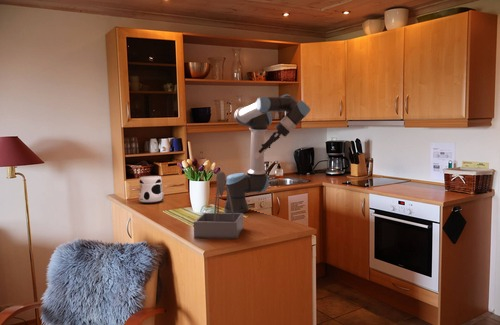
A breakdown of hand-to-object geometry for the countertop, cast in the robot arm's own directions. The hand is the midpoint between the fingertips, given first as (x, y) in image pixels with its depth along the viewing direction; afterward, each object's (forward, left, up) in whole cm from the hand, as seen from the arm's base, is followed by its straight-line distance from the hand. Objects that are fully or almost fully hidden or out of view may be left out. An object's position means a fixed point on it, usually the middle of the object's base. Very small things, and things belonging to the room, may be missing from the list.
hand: (256, 155), depth 219 cm
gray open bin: (+14, -18, -38) cm, 44 cm away
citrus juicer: (+15, -17, -37) cm, 43 cm away
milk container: (-64, -83, -38) cm, 111 cm away
